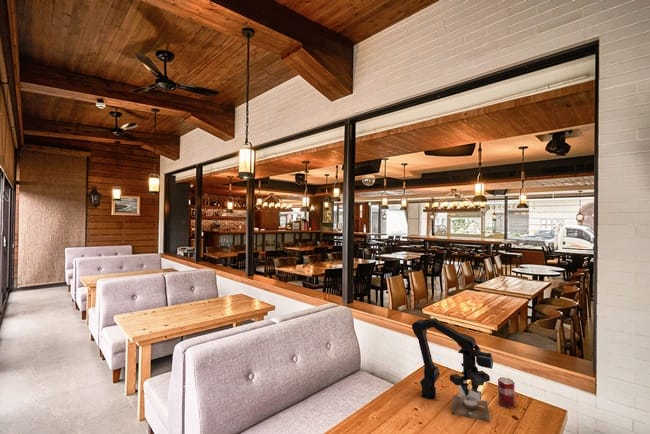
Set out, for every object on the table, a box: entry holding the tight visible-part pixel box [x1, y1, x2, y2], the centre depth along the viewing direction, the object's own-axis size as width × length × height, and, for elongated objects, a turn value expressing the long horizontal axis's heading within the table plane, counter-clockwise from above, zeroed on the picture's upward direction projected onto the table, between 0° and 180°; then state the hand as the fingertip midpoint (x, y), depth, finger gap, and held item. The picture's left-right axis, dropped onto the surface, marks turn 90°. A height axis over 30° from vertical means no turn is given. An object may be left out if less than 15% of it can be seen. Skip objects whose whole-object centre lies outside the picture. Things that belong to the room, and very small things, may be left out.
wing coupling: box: [458, 385, 485, 410], centre depth 156 cm, size 12×7×8 cm, turn 48°
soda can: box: [497, 376, 516, 409], centre depth 160 cm, size 7×7×12 cm
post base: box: [451, 394, 490, 423], centre depth 157 cm, size 16×15×2 cm
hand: (470, 395), depth 157 cm, fingers closed on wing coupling, 4 cm apart
